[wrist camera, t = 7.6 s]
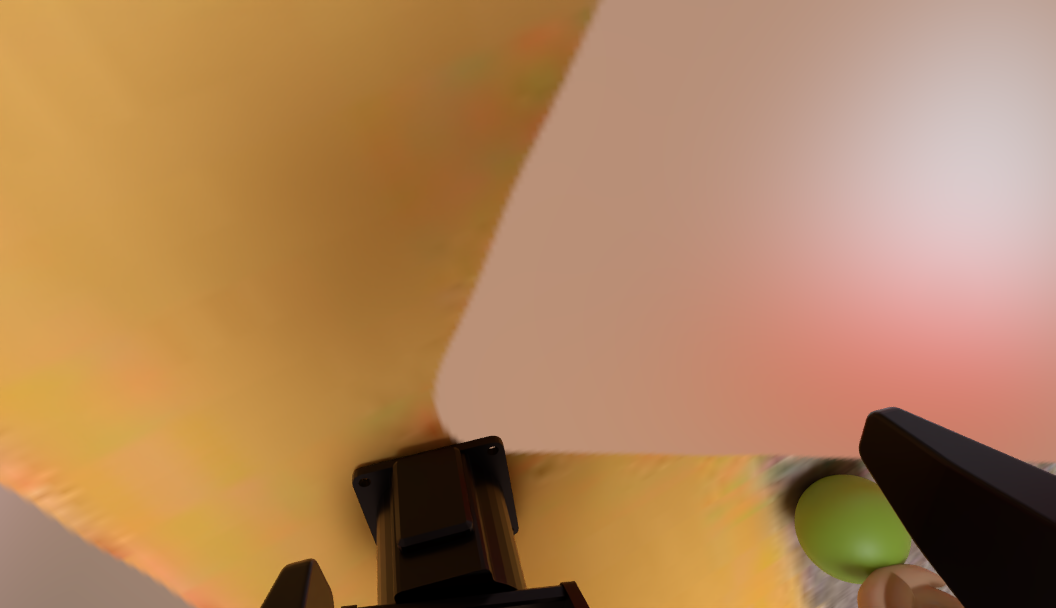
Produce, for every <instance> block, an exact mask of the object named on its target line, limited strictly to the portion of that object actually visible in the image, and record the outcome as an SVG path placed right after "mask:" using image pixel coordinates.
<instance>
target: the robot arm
mask: <svg viewBox="0 0 1056 608" xmlns="http://www.w3.org/2000/svg"><path fill="white" fill-rule="evenodd" d="M494 446H495V447H494ZM490 447H494V448H492V449H489V448H490ZM859 453H860V456H861V459H862V461H863V463H864V464H865V466H866V467H867V469H868V470H869V472H870V474H871V475H872V477H873V478H874V480H875V482H876V483H877V485H878V486H879V488H880V489H881V491H882V493H883V494H884V496H885V497H886V499H887V501H888V502H889V504H890V505H891V507H892V508H893V510H894V512H895V513H896V515H897V516H898V518H899V520H900V521H901V523H902V524H903V526H904V527H905V529H906V531H907V532H908V534H909V535H910V536H911V538H912V539H913V541H914V542H915V544H916V545H917V547H918V548H919V549H920V551H921V552H922V553H923V555H924V556H925V557H926V559H927V560H928V561H929V563H930V564H931V565H932V567H933V568H934V569H935V570H936V572H937V573H938V574H939V576H940V577H941V578H942V580H943V581H944V582H945V583H946V585H947V586H948V587H949V589H950V590H951V591H952V592H953V594H954V595H955V596H956V598H957V599H958V600H959V602H960V603H961V604H962V605H963V607H964V608H1056V475H1053V474H1051V473H1049V472H1046V471H1044V470H1042V469H1039V468H1037V467H1035V466H1033V465H1030V464H1028V463H1026V462H1023V461H1021V460H1019V459H1016V458H1014V457H1011V456H1009V455H1007V454H1005V453H1002V452H1000V451H998V450H995V449H993V448H991V447H988V446H986V445H984V444H981V443H979V442H977V441H974V440H972V439H970V438H967V437H965V436H963V435H960V434H958V433H956V432H954V431H951V430H949V429H946V428H944V427H942V426H940V425H937V424H935V423H933V422H930V421H928V420H926V419H923V418H921V417H919V416H916V415H914V414H912V413H909V412H907V411H904V410H902V409H900V408H896V407H888V408H884V409H880V410H876V411H873V412H871V413H870V414H869V415H868V416H867V419H866V422H865V426H864V429H863V433H862V436H861V440H860V443H859ZM363 478H367V480H362V479H363ZM352 484H353V488H354V490H355V493H356V495H357V498H358V500H359V503H360V505H361V508H362V510H363V513H364V515H365V518H366V520H367V523H368V525H369V528H370V530H371V533H372V535H373V538H374V540H375V543H376V545H377V592H378V605H376V606H367V607H358V608H589V606H588V604H587V602H586V601H585V599H584V597H583V595H582V593H581V591H580V590H579V588H578V586H577V584H576V582H575V581H571V582H562V583H560V585H558V586H549V587H539V588H530V589H527V588H526V584H525V580H524V575H523V571H522V567H521V563H520V559H519V555H518V551H517V547H516V543H515V539H514V535H515V534H516V533H517V532H518V529H519V527H518V522H517V516H516V511H515V505H514V500H513V494H512V489H511V483H510V478H509V472H508V467H507V461H506V456H505V450H504V446H503V442H502V440H501V438H499V437H497V436H489V437H484V438H480V439H476V440H472V441H468V442H464V443H460V444H456V445H451V446H447V447H443V448H439V449H435V450H431V451H427V452H423V453H419V454H415V455H411V456H406V457H402V458H398V459H394V460H390V461H386V462H382V463H378V464H374V465H370V466H366V467H362V468H359V469H357V470H356V471H355V472H354V473H353V477H352ZM260 608H334V601H333V595H332V592H331V589H330V587H329V585H328V583H327V581H326V579H325V577H324V575H323V573H322V571H321V569H320V567H319V565H318V563H317V561H316V560H314V559H312V558H311V559H306V560H302V561H298V562H294V563H291V564H288V565H286V566H285V567H284V568H283V569H282V571H281V572H280V574H279V576H278V578H277V579H276V581H275V583H274V585H273V586H272V588H271V590H270V592H269V593H268V595H267V597H266V599H265V600H264V602H263V604H262V606H261V607H260ZM341 608H357V605H351V606H342V607H341Z"/></svg>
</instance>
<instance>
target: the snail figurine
mask: <svg viewBox="0 0 1056 608" xmlns="http://www.w3.org/2000/svg"><path fill="white" fill-rule="evenodd" d="M795 529H796V534H797V537H798V540H799V542H800V544H801V546H802V548H803V550H804V552H805V553H806V554H807V556H808V557H809V558H810V559H811V561H812V562H813V563H814V564H815V565H817V566H818V567H819V568H820V569H821V570H823V571H824V572H826V573H827V574H829V575H831V576H833V577H835V578H837V579H839V580H842V581H846V582H850V583H856V584H862V585H861V587H860V589H859V591H858V598H857V600H858V608H964V607H963V605H962V604H961V603H960V602H959V600H958V599H957V598H955V597H953V596H952V595H950V594H948V593H946V592H943V591H941V590H939V589H936V588H938V587H943V586H944V585H945V584H946V583H945V582H944V581H943V580H942V578H941V577H940V576H938V575H937V574H935V573H933V572H931V571H929V570H927V569H925V568H922V567H920V566H916V565H910V564H904V563H905V561H906V559H907V557H908V554H909V551H910V547H911V536H910V535H909V534H908V532H907V531H906V529H905V527H904V526H903V524H902V523H901V521H900V520H899V518H898V516H897V515H896V513H895V512H894V510H893V508H892V507H891V505H890V504H889V502H888V501H887V499H886V497H885V496H884V494H883V493H882V491H881V489H880V488H879V486H878V485H877V484H876V483H874V482H872V481H870V480H868V479H865V478H862V477H859V476H854V475H832V476H828V477H825V478H822V479H820V480H818V481H816V482H815V483H813V484H812V485H810V486H809V487H808V488H807V489H806V490H805V491H804V493H803V494H802V496H801V497H800V499H799V501H798V504H797V506H796V511H795Z"/></svg>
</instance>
